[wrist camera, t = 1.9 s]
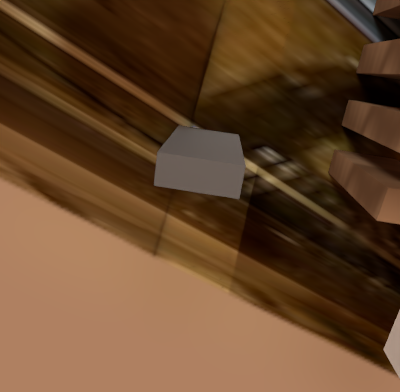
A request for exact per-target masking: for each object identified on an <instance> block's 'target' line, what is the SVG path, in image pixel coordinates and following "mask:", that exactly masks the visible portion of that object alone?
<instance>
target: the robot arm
mask: <svg viewBox="0 0 400 392" xmlns="http://www.w3.org/2000/svg"><path fill="white" fill-rule="evenodd" d="M384 352H385V353H386V355H387V357H388V359H389V361H390V362H391V364H392V366H393V368H394V369H395V371H396V373H397V375H398V376H399V378H400V310H399V313H398V315H397V318H396V320H395V323H394V325H393V328H392V330H391V332H390V335H389V337H388V340H387V342H386V345H385V347H384Z"/></svg>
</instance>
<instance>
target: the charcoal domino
mask: <svg viewBox="0 0 400 392" xmlns="http://www.w3.org/2000/svg"><path fill="white" fill-rule="evenodd" d="M245 166H246V165H245V161H244V156H243V152H242V147H241V143H240V138H239V135H238V134H232V133H225V132H219V131H212V130H206V129H199V128H193V127H187V126H180V125H179V126H178V127H177V128H176V130H175V131H174V132H173V133H172V135H171V136H170V137H169V138H168V139H167V141H166V142H165V143H164V144H163V146H162V147H161V148H160V149H159V151H158V152H157V160H156V170H155V180H154V186H160V187H166V188H173V189H179V190H185V191H192V192H198V193H204V194H211V195H217V196H224V197H230V198H236V199H239V197H240V192H241V187H242V182H243V177H244V172H245Z"/></svg>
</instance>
